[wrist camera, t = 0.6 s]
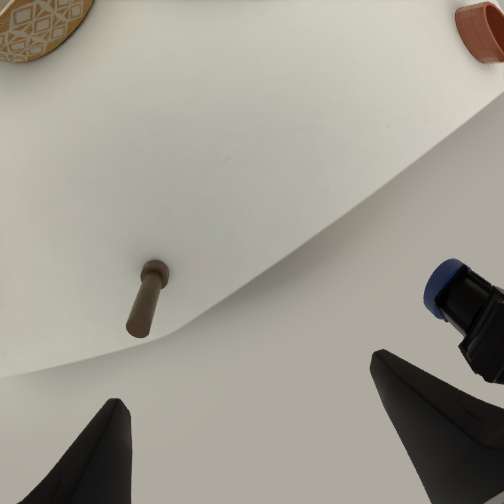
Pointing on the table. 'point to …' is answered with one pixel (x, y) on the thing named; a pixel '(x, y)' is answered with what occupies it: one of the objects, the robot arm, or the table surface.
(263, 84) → the table surface
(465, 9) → the bowl
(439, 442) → the robot arm
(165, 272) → the dark brown collared rod
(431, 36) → the table surface
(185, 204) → the table surface
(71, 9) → the planter
